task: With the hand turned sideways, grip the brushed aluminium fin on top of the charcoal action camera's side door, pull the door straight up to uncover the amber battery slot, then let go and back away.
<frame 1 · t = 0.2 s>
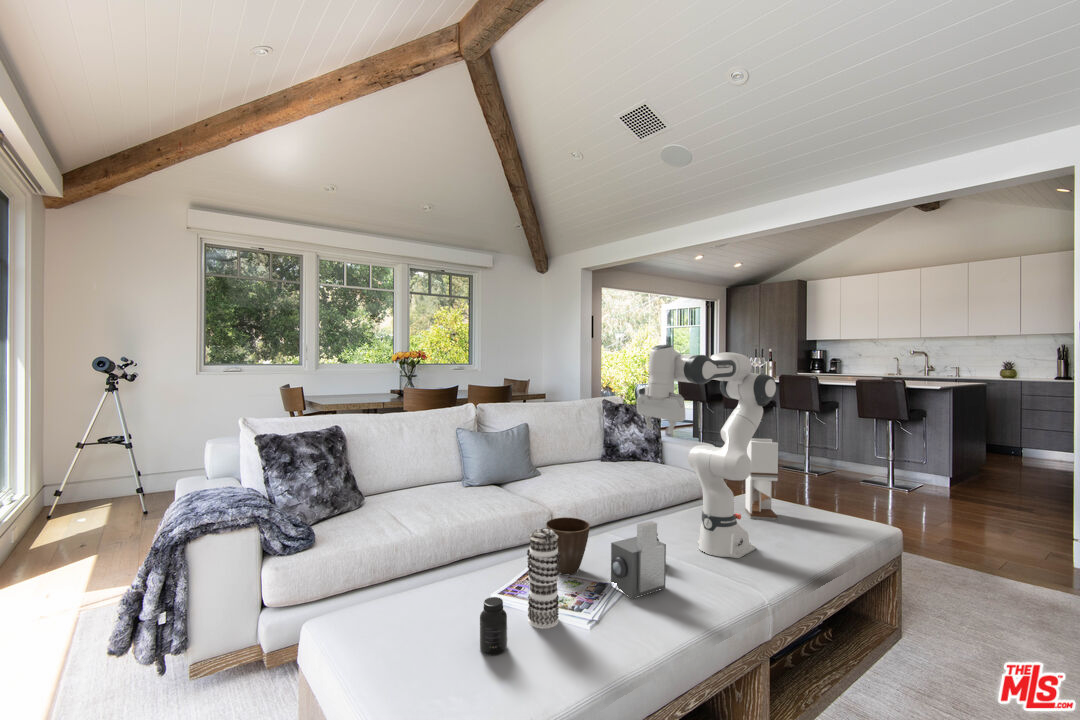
hand: (659, 430, 181), 48 cm above the table, tool pointing down, fingers open, 8 cm apart
white cabinet: (760, 516, 240), on the table
decorative candle: (543, 621, 144), on the table
side door: (651, 555, 160), point 12 cm above the table, slide at 0.0 cm
binoculars: (648, 564, 184), on the table
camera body: (638, 587, 165), on the table
supplement bottle: (493, 649, 130), on the table
plant pot: (567, 571, 177), on the table
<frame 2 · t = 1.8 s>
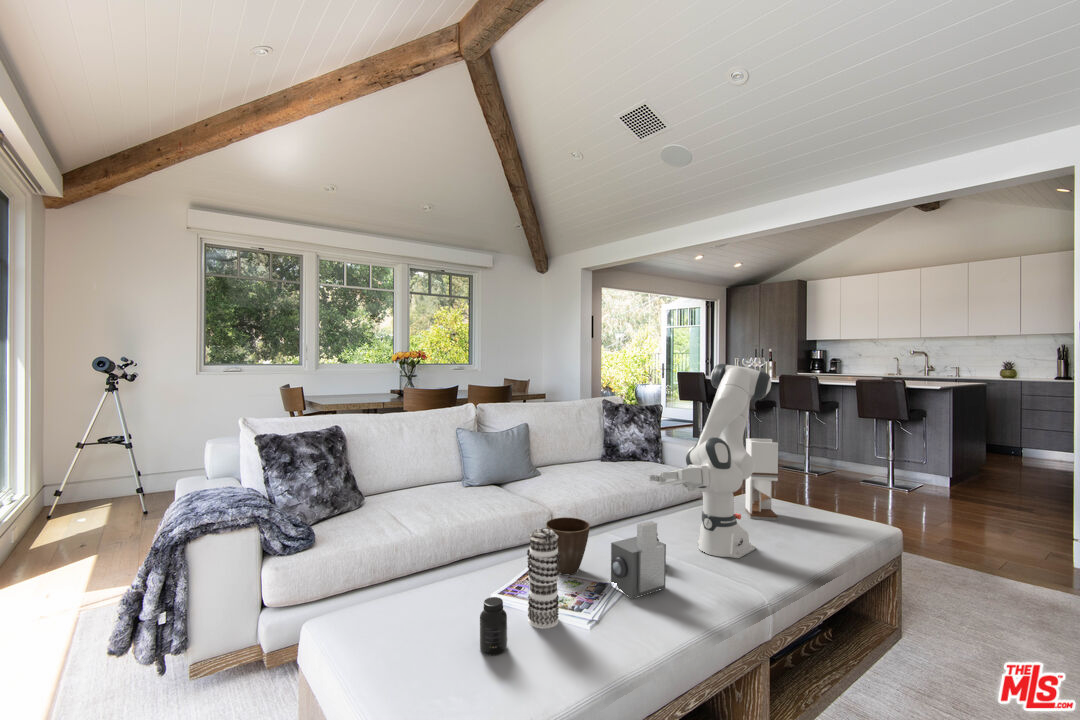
hand: (655, 476, 169), 34 cm above the table, tool horizontal, fingers open, 8 cm apart
nothing on the table moved.
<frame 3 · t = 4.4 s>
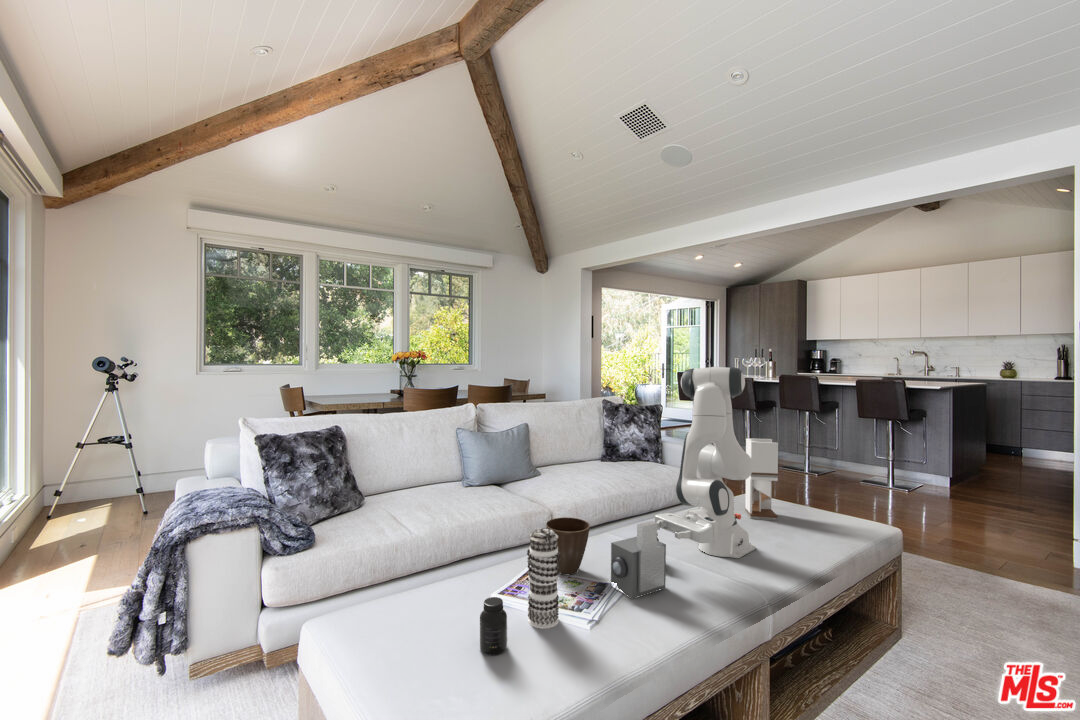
hand: (665, 531, 163), 19 cm above the table, tool horizontal, fingers open, 8 cm apart
nothing on the table moved.
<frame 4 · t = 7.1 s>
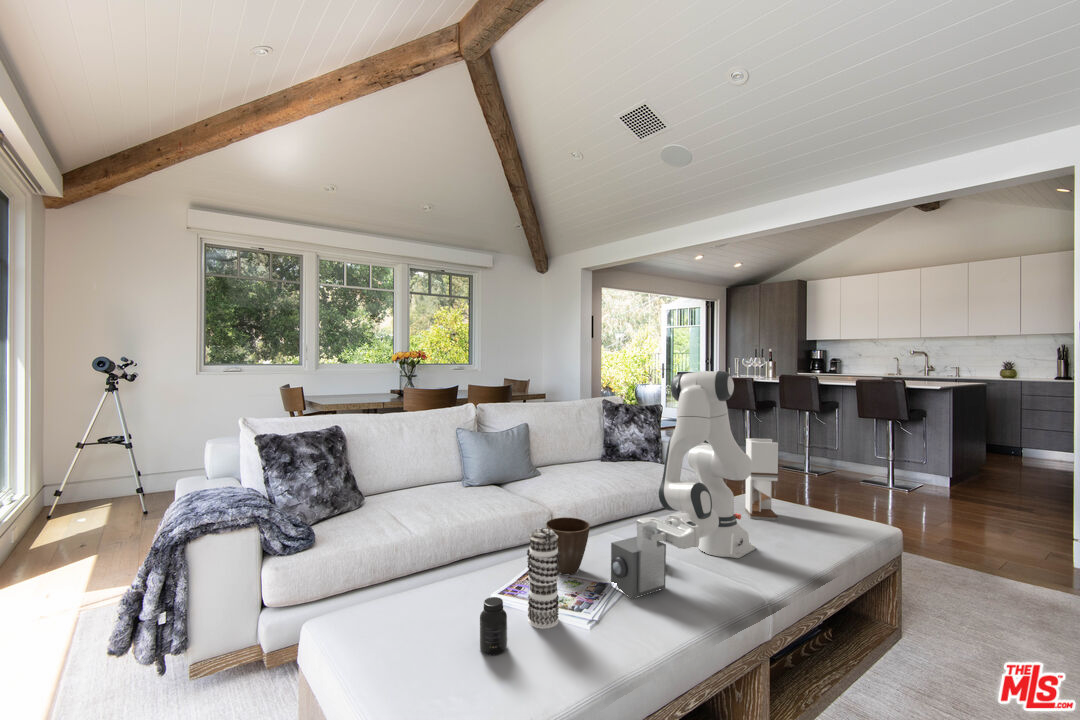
hand: (646, 536, 159), 19 cm above the table, tool horizontal, fingers closed on side door, 2 cm apart
side door: (651, 555, 160), point 12 cm above the table, slide at 0.0 cm, touching gripper
everything else where it was.
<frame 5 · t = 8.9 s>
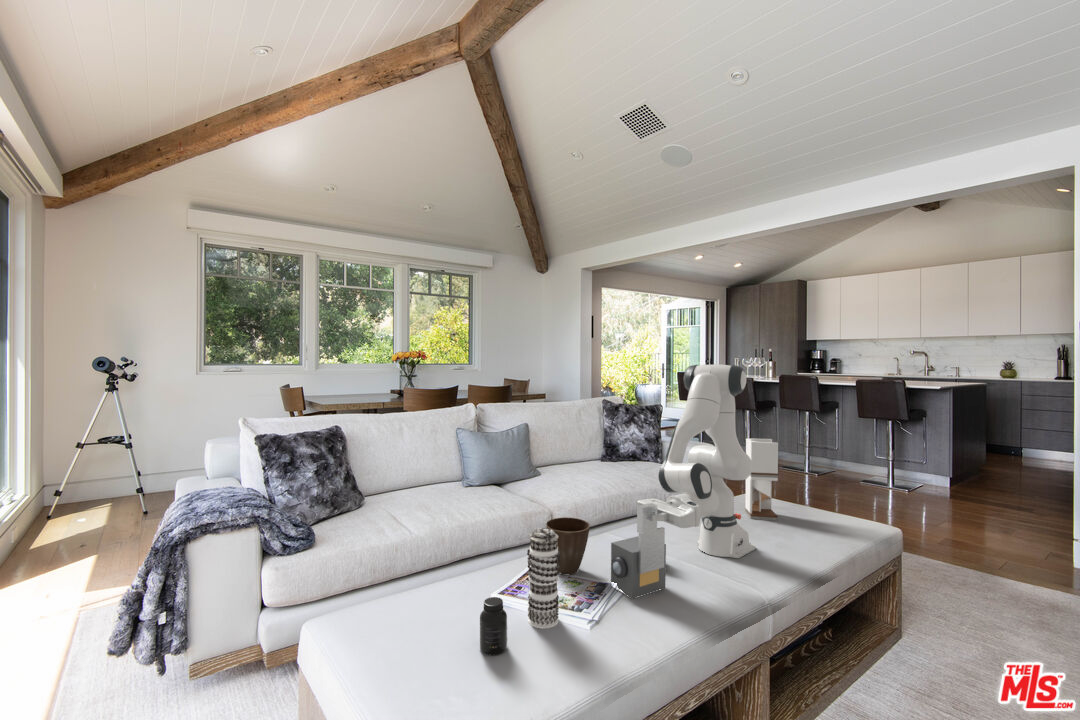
hand: (646, 516, 159), 25 cm above the table, tool horizontal, fingers closed on side door, 2 cm apart
side door: (651, 537, 160), point 18 cm above the table, slide at 5.6 cm, touching gripper
everything else where it was.
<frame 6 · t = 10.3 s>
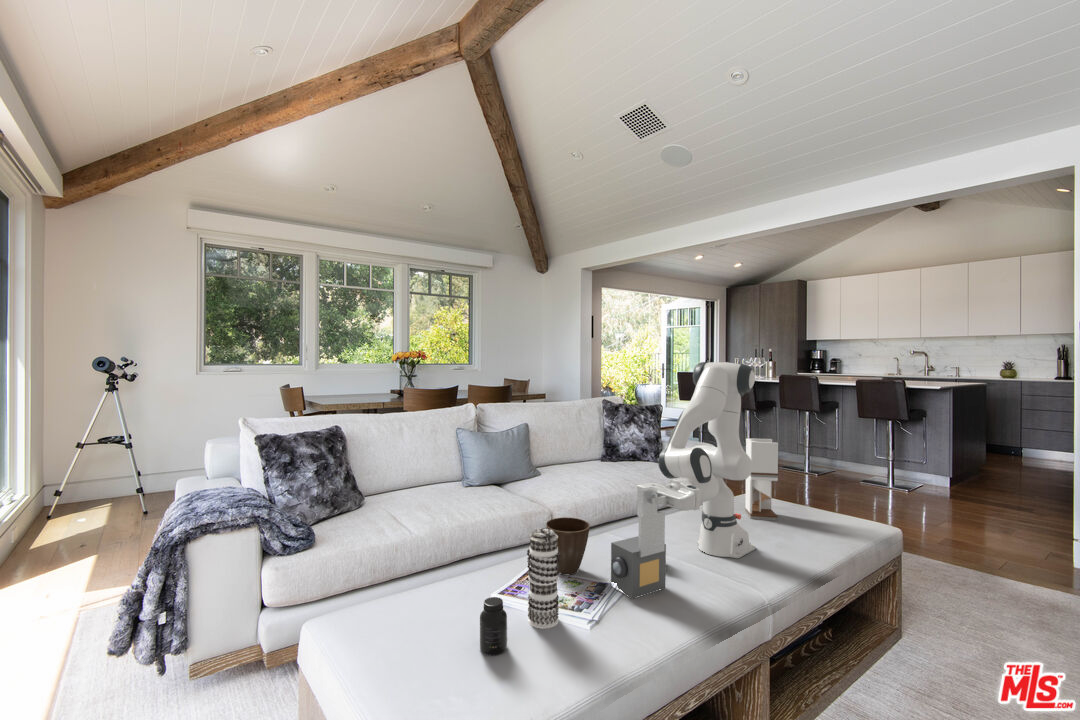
hand: (646, 499, 159), 30 cm above the table, tool horizontal, fingers closed on side door, 2 cm apart
side door: (651, 520, 160), point 23 cm above the table, slide at 10.7 cm, touching gripper
everything else where it was.
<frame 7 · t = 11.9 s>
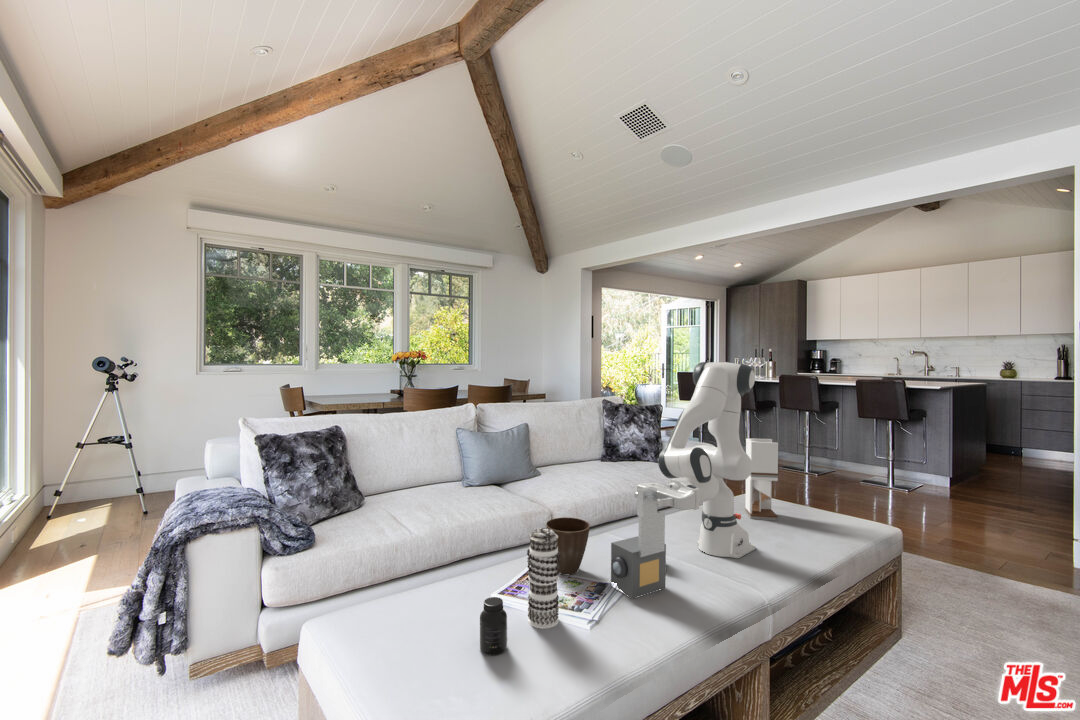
hand: (646, 498, 159), 30 cm above the table, tool horizontal, fingers open, 8 cm apart
side door: (651, 520, 160), point 23 cm above the table, slide at 10.7 cm
everything else where it was.
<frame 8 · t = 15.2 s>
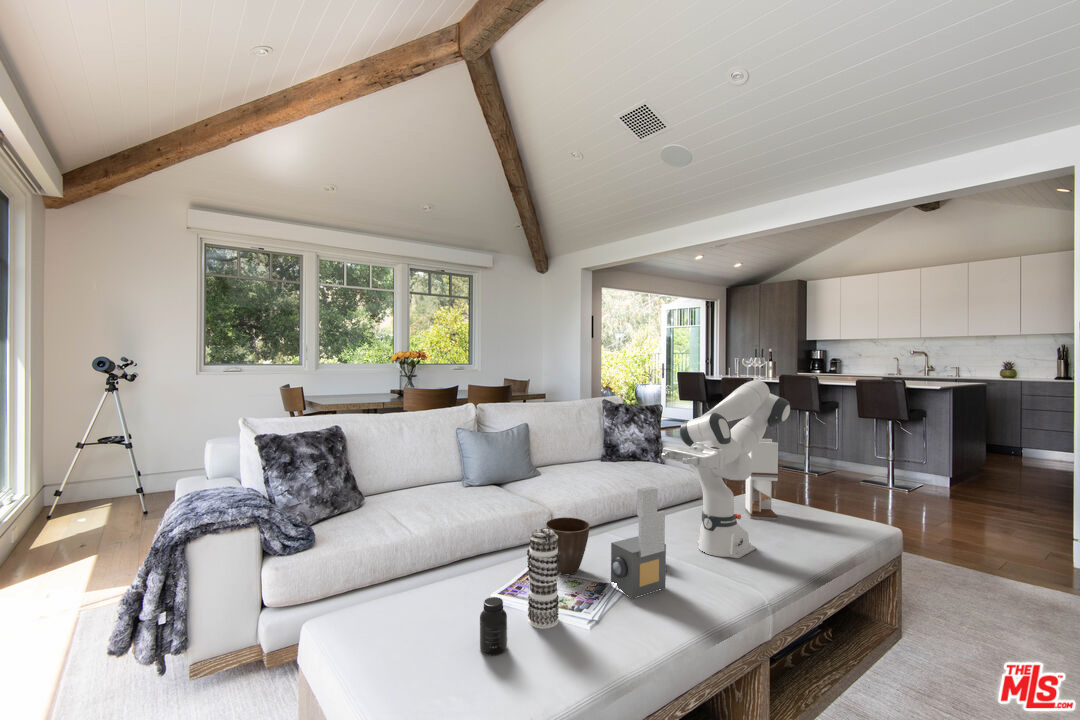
hand: (673, 458, 170), 40 cm above the table, tool horizontal, fingers open, 8 cm apart
nothing on the table moved.
at the end: side door slide at 10.7 cm; the gripper is holding nothing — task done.
